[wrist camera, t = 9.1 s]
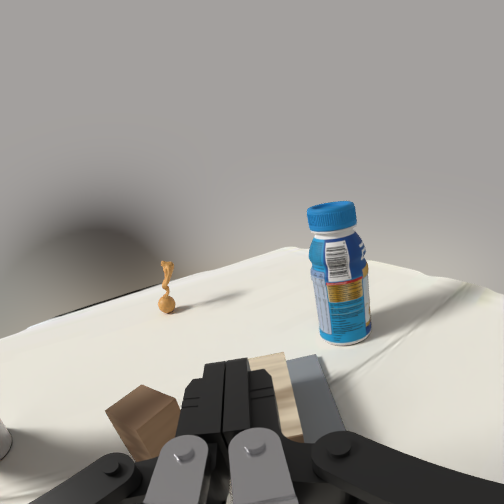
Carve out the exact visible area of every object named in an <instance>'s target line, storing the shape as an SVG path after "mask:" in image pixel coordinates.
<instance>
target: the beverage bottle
mask: <svg viewBox="0 0 504 504" xmlns="http://www.w3.org/2000/svg"><path fill="white" fill-rule="evenodd" d="M307 217H308V223H309V228H310V230H311V232H312V233H315V236H314V239H313V241H312V243H311V246H310V250H309V259H310V261H311V262H312V268H311V279H312V281H313V285H314V292H315V298H316V305H317V312H318V319H319V329H320V336H321V338H322V339H323V340H324V341H325V342H327V343H329V344H332V345H338V346H345V345H352V344H355V343H358V342H360V341H362V340H364V339H365V338H366V337H368V335H369V334H370V332H371V315H370V299H369V284H368V264H367V262H366V260H365V259H364V254H365V252H366V250H365V246H364V244H363V242H362V240H361V238H360V237H359V235H358V234H357V233H356V232H355V231H354V230H353V228H354V227H355V226H356V222H357V220H356V212H355V206H354V203H353V202H350V201H338V202H330V203H324V204H319V205H315V206H312V207H310V208H308V209H307Z"/></svg>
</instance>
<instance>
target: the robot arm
mask: <svg viewBox="0 0 504 504" xmlns="http://www.w3.org/2000/svg"><path fill="white" fill-rule="evenodd" d="M181 407H182V409H181V411H180V416H179V420H178V425H177V430H176V435H175V438H173V439H171V440H170V441H168V442H167V443H166V444H165V445H164V446H163V447H162V449H161V451H160V454H159V456H157V457H155V458H151V459H148V460H144V461H139V462H135V463H134V462H133V460H132V459H131V458H130V457H129V456H128V455H126V454H123V453H110V454H107V455H105V456H103V457H101V458H99V459H98V460H96V461H95V462H93V463H92V464H91V465H89V466H88V467H86V468H85V469H83V470H82V471H80V472H78V473H77V474H75V475H74V476H72V477H71V478H69V479H68V480H66V481H65V482H63V483H61V484H60V485H58V486H57V487H55V488H53V489H52V490H50V491H49V492H47V493H45V494H44V495H42V496H40V497H39V498H37V499H35V500H34V501H32V502H30V503H29V504H231V494H230V492H229V482H230V479H231V484H232V494H233V504H504V484H501V483H497V482H493V481H489V480H485V479H482V478H478V477H474V476H471V475H467V474H464V473H461V472H457V471H454V470H451V469H448V468H445V467H442V466H439V465H436V464H433V463H430V462H427V461H424V460H421V459H419V458H416V457H413V456H410V455H408V454H405V453H402V452H400V451H397V450H395V449H392V448H390V447H387V446H385V445H382V444H380V443H377V442H375V441H372V440H370V439H368V438H365V437H363V436H361V435H358V434H356V433H353V432H350V431H335V432H331V433H328V434H326V435H324V436H322V437H321V438H319V439H318V440H317V441H316V442H315V443H300V442H295V441H292V440H290V439H288V438H287V437H285V436H284V435H283V434H282V431H281V424H280V418H279V412H278V406H277V401H276V396H275V391H274V386H273V381H272V376H271V375H270V374H269V373H268V372H267V371H266V370H265V369H259V370H253V371H251V369H250V365H249V361H248V358H241V359H235V360H228V361H227V362H226V361H222V362H216V363H208V364H205V366H204V373H203V378H199V379H193V380H192V381H191V382H190V384H189V385H188V386H187V387H186V389H185V393H184V397H183V402H182V406H181ZM11 443H12V437H11V434H10V433H9V431H8V430H7V428H6V427H5V425H4V424H3V422H2V421H1V419H0V459H2V458H3V457H4V456H5V455H6V453H7V452H8V451H9V449H10V447H11Z"/></svg>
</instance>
